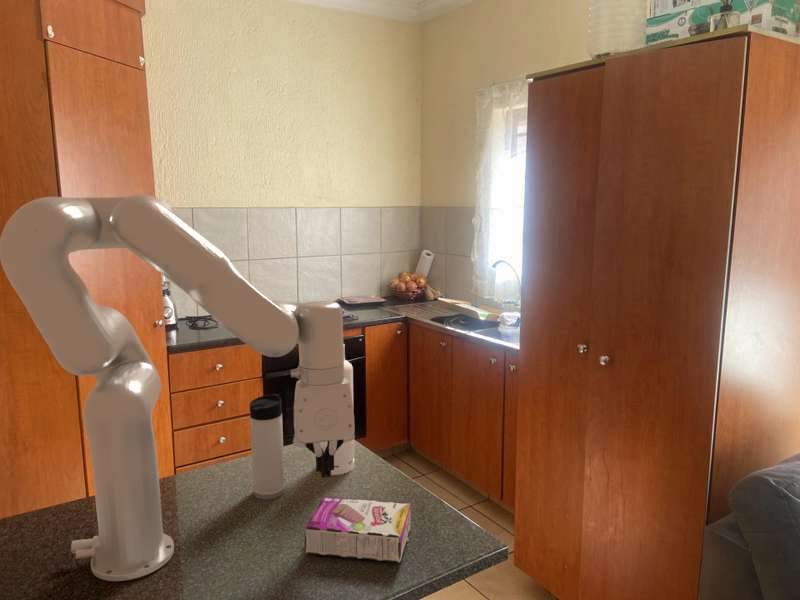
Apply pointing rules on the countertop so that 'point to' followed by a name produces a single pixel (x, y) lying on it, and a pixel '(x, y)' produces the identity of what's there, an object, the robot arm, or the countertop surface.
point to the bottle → (346, 449)
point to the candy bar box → (359, 529)
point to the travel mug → (267, 447)
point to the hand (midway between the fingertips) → (325, 474)
